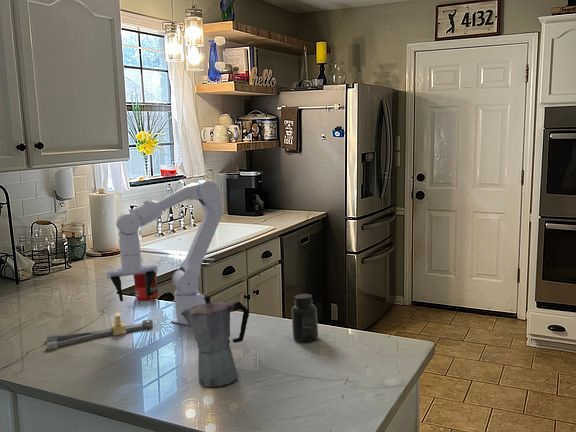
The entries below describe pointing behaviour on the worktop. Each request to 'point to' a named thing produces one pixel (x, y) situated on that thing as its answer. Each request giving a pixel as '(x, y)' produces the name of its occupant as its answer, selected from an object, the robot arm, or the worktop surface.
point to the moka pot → (215, 340)
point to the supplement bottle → (304, 319)
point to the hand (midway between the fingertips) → (134, 298)
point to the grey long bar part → (90, 335)
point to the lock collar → (118, 326)
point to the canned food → (141, 288)
